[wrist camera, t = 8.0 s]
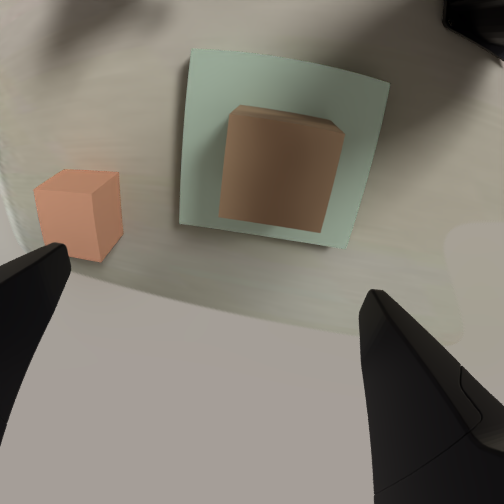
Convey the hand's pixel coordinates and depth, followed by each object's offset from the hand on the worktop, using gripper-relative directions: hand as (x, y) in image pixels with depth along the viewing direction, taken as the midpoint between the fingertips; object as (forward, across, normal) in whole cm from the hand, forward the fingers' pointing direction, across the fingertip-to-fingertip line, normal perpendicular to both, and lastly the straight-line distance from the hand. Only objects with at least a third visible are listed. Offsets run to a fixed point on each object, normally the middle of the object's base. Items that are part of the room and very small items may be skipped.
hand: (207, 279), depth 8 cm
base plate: (+12, -2, -1) cm, 12 cm away
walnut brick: (+11, -2, -1) cm, 11 cm away
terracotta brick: (+13, +11, +4) cm, 17 cm away
